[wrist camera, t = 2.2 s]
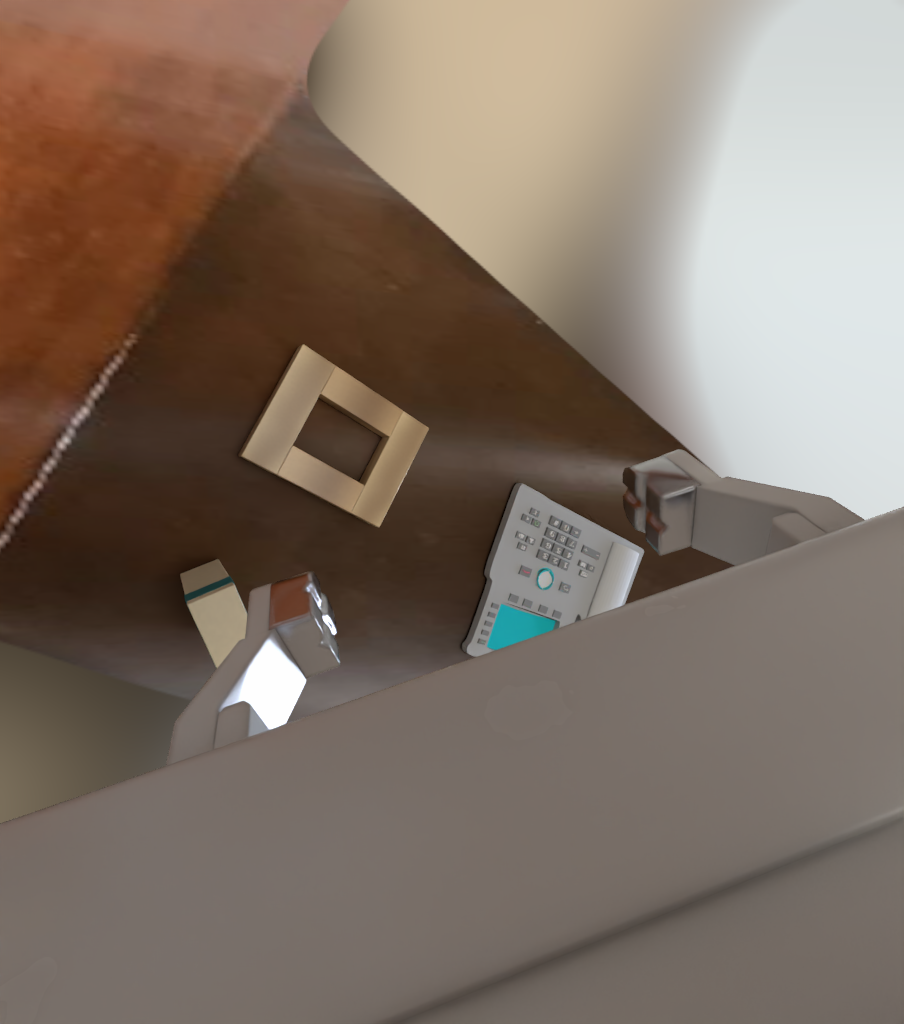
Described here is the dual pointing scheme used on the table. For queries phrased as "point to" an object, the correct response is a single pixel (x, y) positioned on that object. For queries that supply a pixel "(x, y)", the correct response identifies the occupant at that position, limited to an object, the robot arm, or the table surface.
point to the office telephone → (548, 572)
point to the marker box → (215, 608)
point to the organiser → (357, 401)
